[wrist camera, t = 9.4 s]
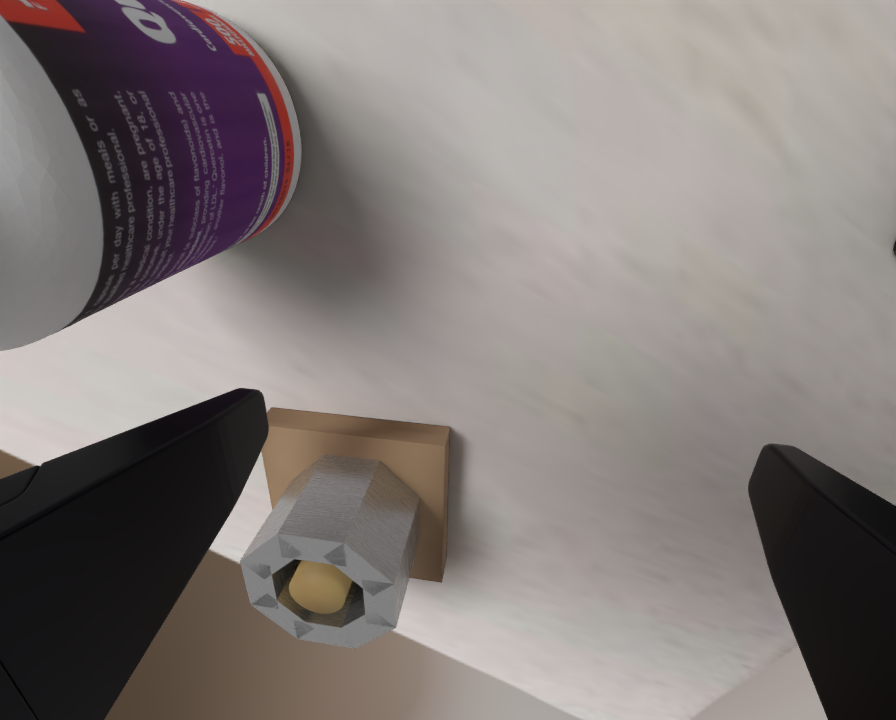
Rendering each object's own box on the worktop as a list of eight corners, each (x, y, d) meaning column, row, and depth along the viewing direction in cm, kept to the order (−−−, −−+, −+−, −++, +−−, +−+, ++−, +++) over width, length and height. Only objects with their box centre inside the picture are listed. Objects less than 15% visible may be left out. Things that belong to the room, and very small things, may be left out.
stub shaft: (450, 427, 24) (422, 529, 18) (446, 559, 28) (423, 677, 22) (271, 407, 25) (193, 498, 19) (293, 537, 29) (234, 644, 24)
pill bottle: (304, 12, 17) (-359, -235, 4) (317, 246, 21) (-20, 475, 8) (87, -1, 18) (-991, -239, 5) (137, 226, 22) (-420, 405, 9)
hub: (419, 465, 23) (392, 549, 19) (420, 563, 26) (397, 655, 22) (286, 449, 24) (231, 527, 20) (302, 546, 27) (257, 632, 23)
